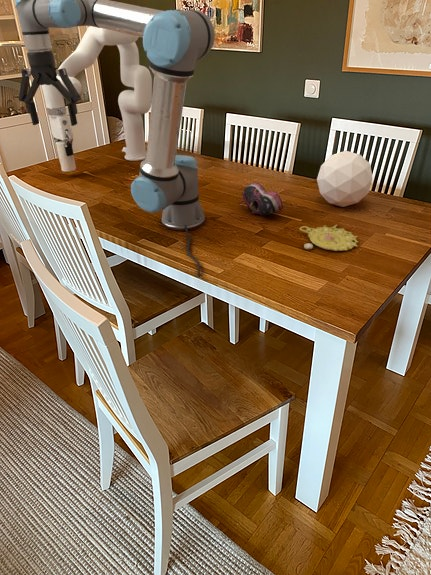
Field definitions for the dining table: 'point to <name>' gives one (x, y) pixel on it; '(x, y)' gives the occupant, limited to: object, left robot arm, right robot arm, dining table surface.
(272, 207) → the athletic shoe
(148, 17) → the right robot arm
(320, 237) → the decorative object
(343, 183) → the sphere
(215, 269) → the dining table surface
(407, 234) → the dining table surface
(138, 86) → the left robot arm
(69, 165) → the canister
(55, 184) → the dining table surface
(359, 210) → the dining table surface
